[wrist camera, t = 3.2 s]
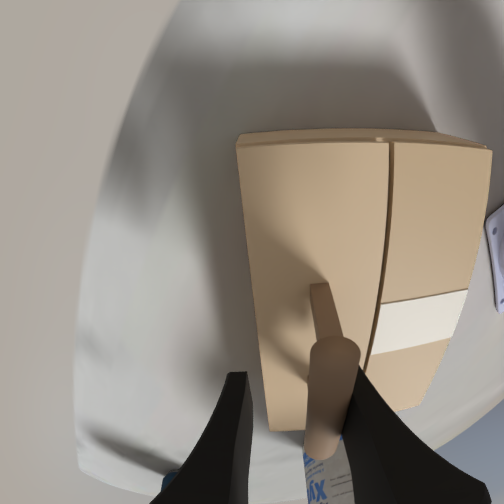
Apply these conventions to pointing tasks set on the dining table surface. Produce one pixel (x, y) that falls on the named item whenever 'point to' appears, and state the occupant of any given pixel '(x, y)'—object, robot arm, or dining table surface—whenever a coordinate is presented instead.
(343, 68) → the dining table surface
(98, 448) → the dining table surface
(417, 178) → the carton
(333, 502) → the supplement tub
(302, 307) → the far flap
